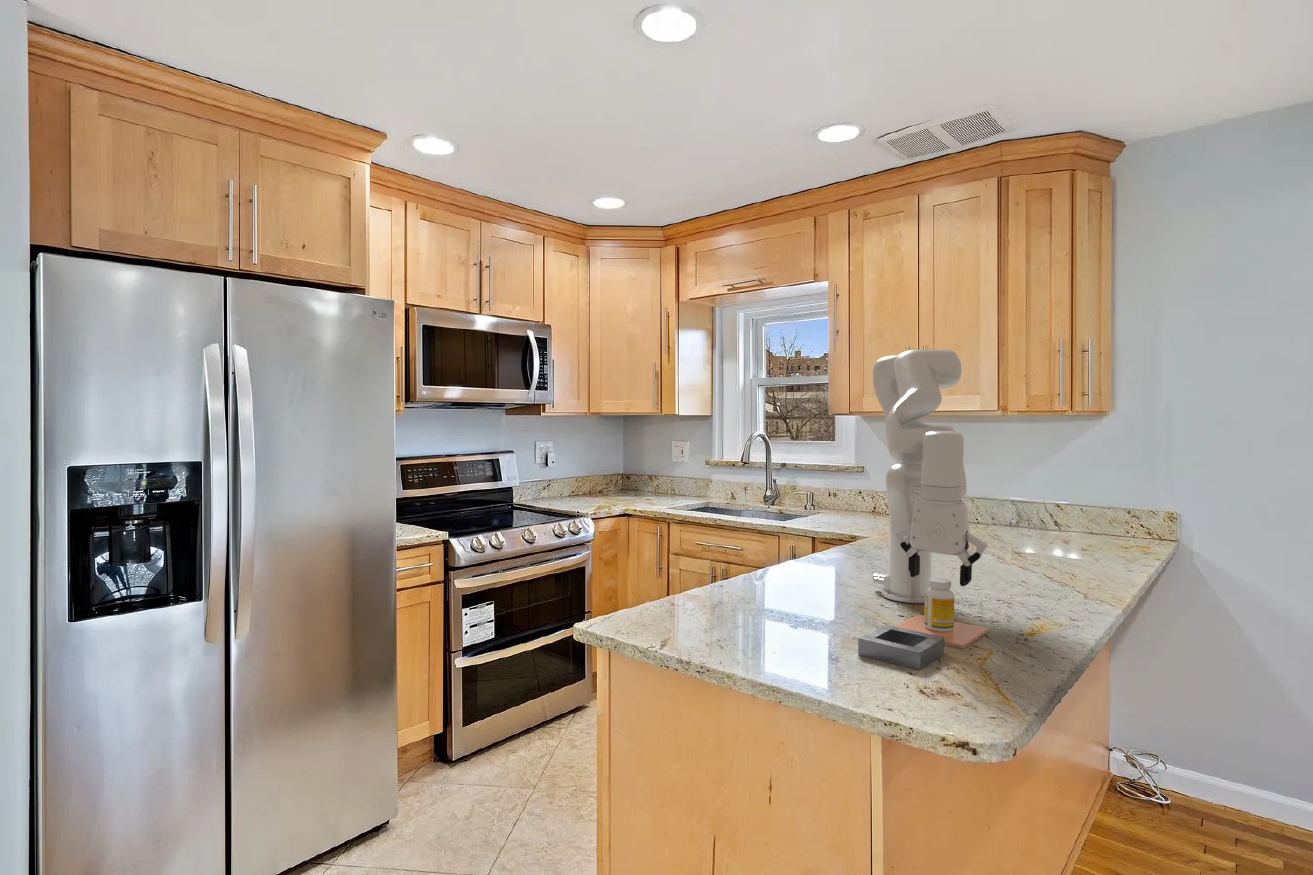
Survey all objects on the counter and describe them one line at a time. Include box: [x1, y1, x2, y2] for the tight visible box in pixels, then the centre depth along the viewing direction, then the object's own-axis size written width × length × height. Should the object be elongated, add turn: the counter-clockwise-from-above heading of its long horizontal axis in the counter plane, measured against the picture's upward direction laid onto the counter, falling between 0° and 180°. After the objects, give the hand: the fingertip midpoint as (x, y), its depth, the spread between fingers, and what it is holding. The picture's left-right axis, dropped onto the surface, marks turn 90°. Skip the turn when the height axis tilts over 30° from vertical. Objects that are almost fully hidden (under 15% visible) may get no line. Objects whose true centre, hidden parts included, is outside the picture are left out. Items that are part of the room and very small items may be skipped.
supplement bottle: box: [924, 577, 955, 632], centre depth 136 cm, size 5×5×10 cm
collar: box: [857, 624, 946, 671], centre depth 122 cm, size 11×11×3 cm
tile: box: [894, 614, 989, 649], centre depth 135 cm, size 14×14×1 cm
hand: (939, 580), depth 136 cm, fingers open, 9 cm apart
